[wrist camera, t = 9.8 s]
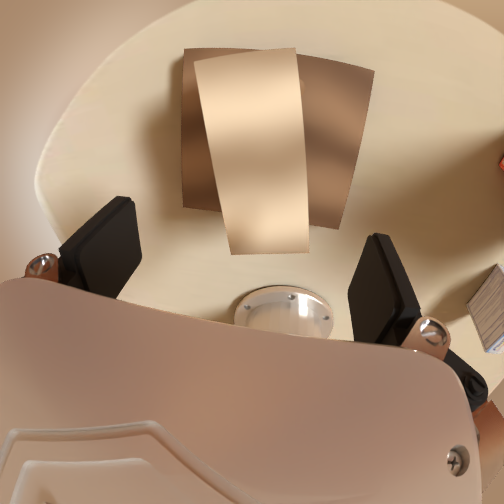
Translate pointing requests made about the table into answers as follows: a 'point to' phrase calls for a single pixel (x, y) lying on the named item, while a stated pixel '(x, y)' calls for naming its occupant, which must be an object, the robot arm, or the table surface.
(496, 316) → the medicine box
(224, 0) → the table surface
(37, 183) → the table surface
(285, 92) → the beige wooden block
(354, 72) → the peg board
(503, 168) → the cracker box
